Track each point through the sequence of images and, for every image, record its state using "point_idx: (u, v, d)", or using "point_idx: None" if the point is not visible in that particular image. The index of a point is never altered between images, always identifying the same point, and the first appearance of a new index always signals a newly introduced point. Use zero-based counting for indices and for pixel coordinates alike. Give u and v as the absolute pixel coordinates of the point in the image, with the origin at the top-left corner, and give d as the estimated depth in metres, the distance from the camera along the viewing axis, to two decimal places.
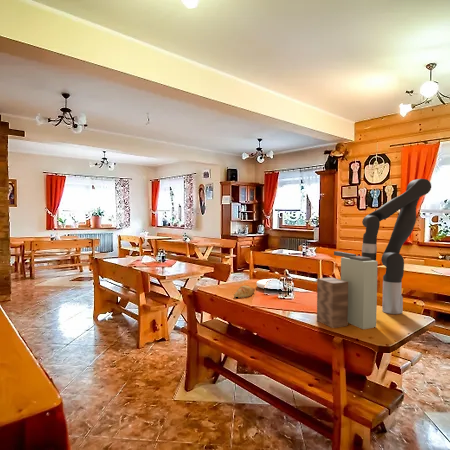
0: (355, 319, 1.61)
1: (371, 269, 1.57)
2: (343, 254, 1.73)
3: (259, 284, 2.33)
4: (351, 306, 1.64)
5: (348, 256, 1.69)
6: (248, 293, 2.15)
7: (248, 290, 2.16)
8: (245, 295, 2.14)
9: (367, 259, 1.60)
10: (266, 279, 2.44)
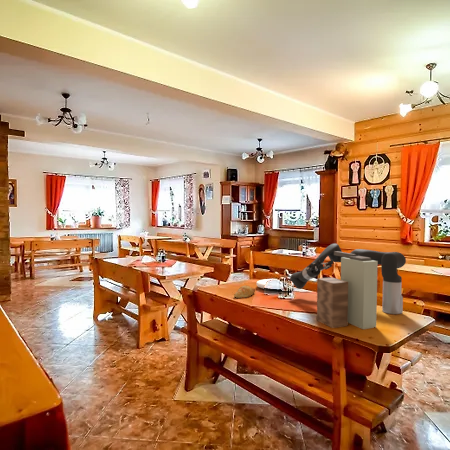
0: (355, 319, 1.61)
1: (371, 269, 1.57)
2: (343, 254, 1.73)
3: (259, 284, 2.33)
4: (351, 306, 1.64)
5: (348, 256, 1.69)
6: (248, 293, 2.15)
7: (248, 290, 2.15)
8: (245, 295, 2.13)
9: (367, 259, 1.60)
10: (266, 279, 2.44)
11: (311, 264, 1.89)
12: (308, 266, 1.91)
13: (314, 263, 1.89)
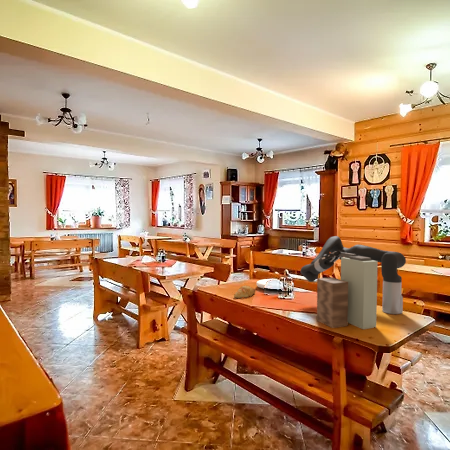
0: (355, 319, 1.61)
1: (371, 269, 1.57)
2: (343, 254, 1.73)
3: (259, 284, 2.33)
4: (351, 306, 1.64)
5: (348, 256, 1.69)
6: (248, 293, 2.14)
7: (248, 290, 2.15)
8: (245, 295, 2.13)
9: (367, 259, 1.60)
10: (266, 279, 2.44)
11: (330, 254, 1.78)
12: (325, 256, 1.79)
13: (334, 252, 1.78)
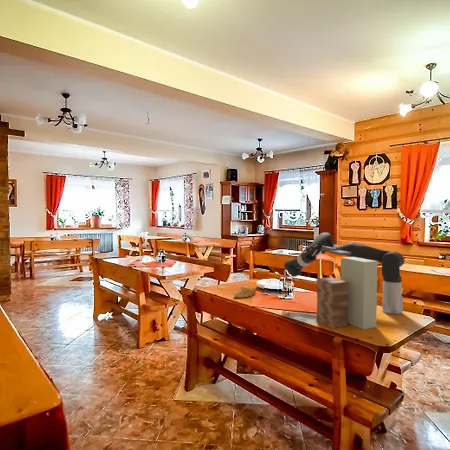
0: (355, 319, 1.61)
1: (371, 269, 1.57)
2: (324, 247, 1.68)
3: (259, 284, 2.33)
4: (351, 306, 1.64)
5: (329, 250, 1.65)
6: (248, 293, 2.14)
7: (248, 290, 2.15)
8: (245, 295, 2.13)
9: (347, 254, 1.55)
10: (266, 279, 2.44)
11: (311, 247, 1.73)
12: (307, 249, 1.75)
13: (315, 246, 1.74)
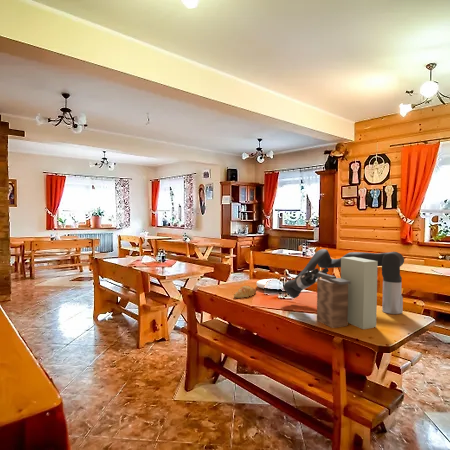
0: (355, 319, 1.61)
1: (371, 269, 1.57)
2: (323, 275, 1.69)
3: (259, 284, 2.33)
4: (351, 306, 1.64)
5: (328, 278, 1.65)
6: (248, 293, 2.14)
7: (248, 290, 2.14)
8: (245, 295, 2.13)
9: (346, 282, 1.56)
10: (266, 279, 2.44)
11: (308, 272, 1.73)
12: (304, 274, 1.76)
13: (312, 271, 1.74)
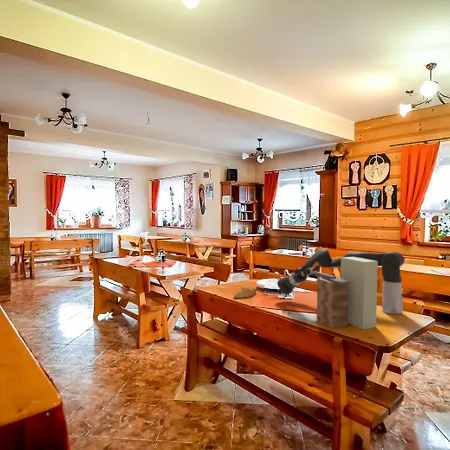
0: (355, 319, 1.61)
1: (371, 269, 1.57)
2: (323, 275, 1.69)
3: (259, 284, 2.33)
4: (351, 306, 1.64)
5: (328, 278, 1.65)
6: (248, 294, 2.14)
7: (248, 290, 2.14)
8: (245, 295, 2.13)
9: (346, 282, 1.56)
10: (266, 279, 2.44)
11: (297, 269, 1.81)
12: (294, 271, 1.84)
13: (300, 268, 1.81)
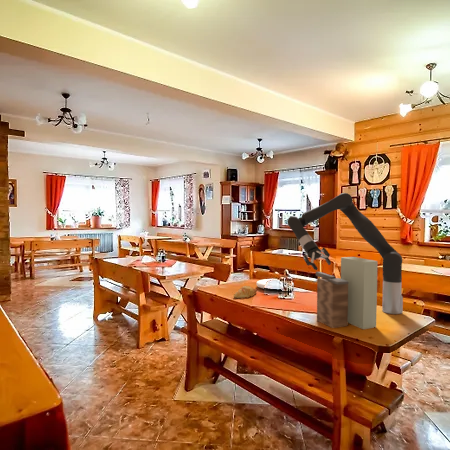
0: (355, 319, 1.61)
1: (371, 269, 1.57)
2: (323, 275, 1.69)
3: (259, 284, 2.33)
4: (351, 306, 1.64)
5: (327, 278, 1.65)
6: (248, 294, 2.13)
7: (249, 291, 2.14)
8: (245, 296, 2.12)
9: (344, 283, 1.56)
10: (266, 279, 2.44)
11: (308, 263, 1.85)
12: (305, 259, 1.87)
13: (311, 263, 1.85)
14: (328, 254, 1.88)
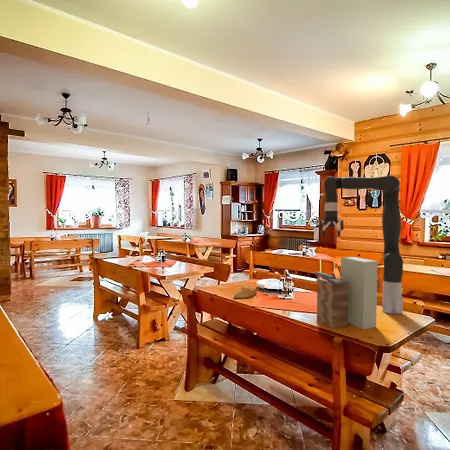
0: (355, 319, 1.61)
1: (371, 269, 1.57)
2: (323, 275, 1.69)
3: (259, 284, 2.33)
4: (351, 306, 1.64)
5: (327, 278, 1.65)
6: (248, 294, 2.13)
7: (249, 291, 2.14)
8: (245, 296, 2.12)
9: (344, 283, 1.56)
10: (266, 279, 2.44)
11: (319, 229, 1.99)
12: (319, 224, 1.99)
13: (322, 230, 1.98)
14: (342, 228, 1.97)
